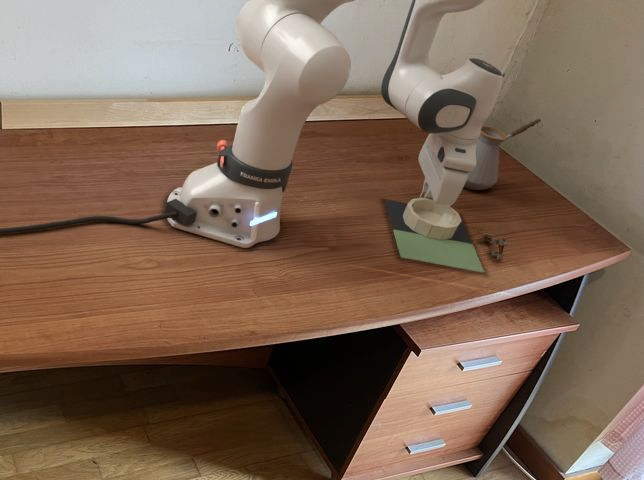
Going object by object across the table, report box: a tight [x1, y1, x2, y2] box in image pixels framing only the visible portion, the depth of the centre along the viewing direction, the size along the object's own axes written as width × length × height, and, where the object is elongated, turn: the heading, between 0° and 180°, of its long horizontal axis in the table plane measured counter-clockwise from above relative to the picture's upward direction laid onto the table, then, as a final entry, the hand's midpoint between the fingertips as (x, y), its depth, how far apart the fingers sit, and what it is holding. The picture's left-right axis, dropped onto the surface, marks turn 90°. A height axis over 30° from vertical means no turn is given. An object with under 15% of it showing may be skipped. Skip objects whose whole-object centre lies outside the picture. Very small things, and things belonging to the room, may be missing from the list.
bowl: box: [403, 197, 463, 240], centre depth 149 cm, size 11×11×3 cm
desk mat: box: [384, 199, 485, 273], centre depth 148 cm, size 17×22×1 cm
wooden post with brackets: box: [481, 233, 508, 262], centre depth 146 cm, size 2×8×4 cm, turn 1°
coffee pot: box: [463, 118, 544, 191], centre depth 166 cm, size 21×12×15 cm, turn 119°
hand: (424, 201), depth 154 cm, fingers closed
